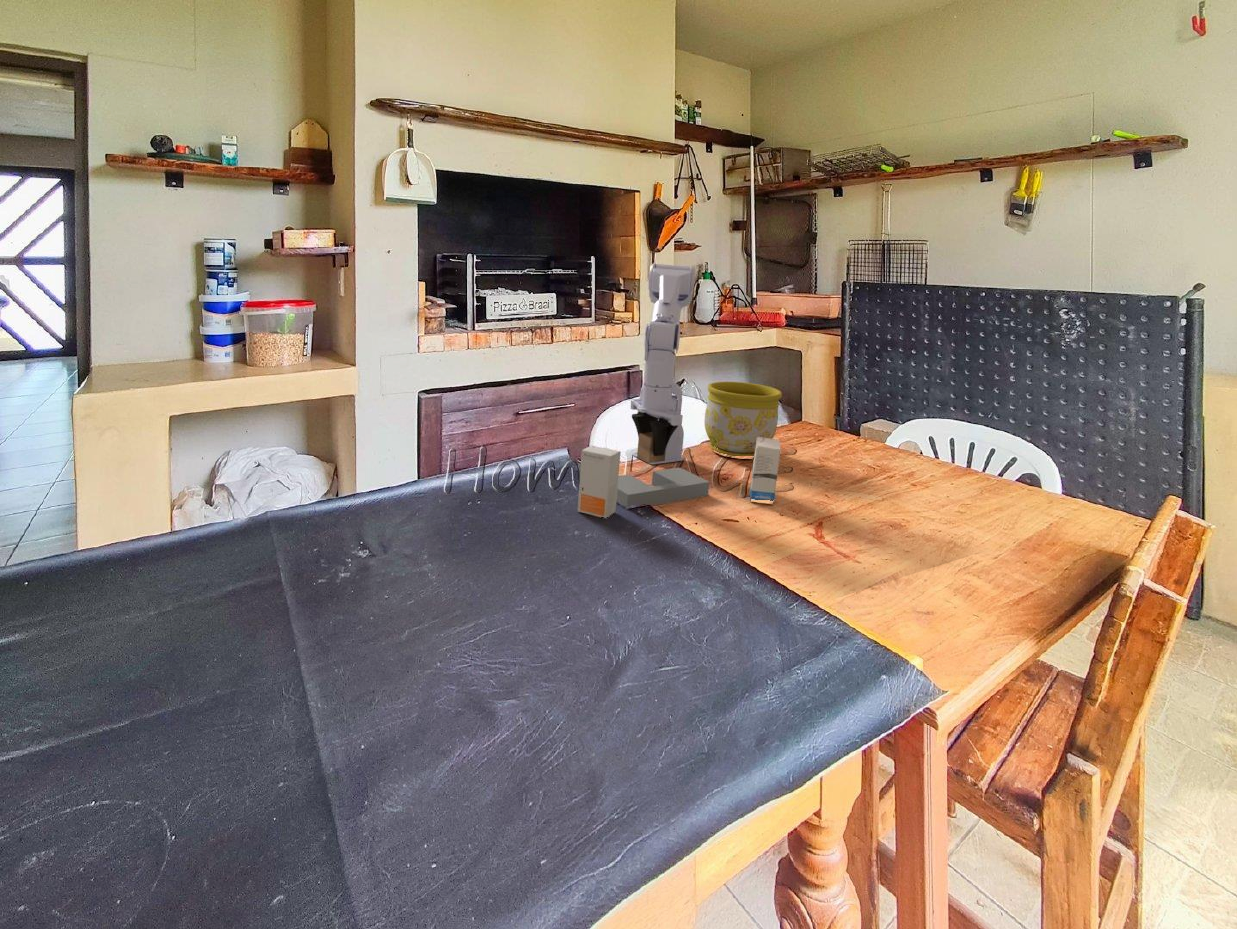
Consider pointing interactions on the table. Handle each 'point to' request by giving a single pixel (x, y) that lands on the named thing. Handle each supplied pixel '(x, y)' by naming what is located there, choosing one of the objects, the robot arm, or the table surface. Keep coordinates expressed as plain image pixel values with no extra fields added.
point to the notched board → (661, 488)
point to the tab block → (647, 449)
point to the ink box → (765, 469)
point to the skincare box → (598, 481)
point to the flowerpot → (740, 416)
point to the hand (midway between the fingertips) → (651, 452)
